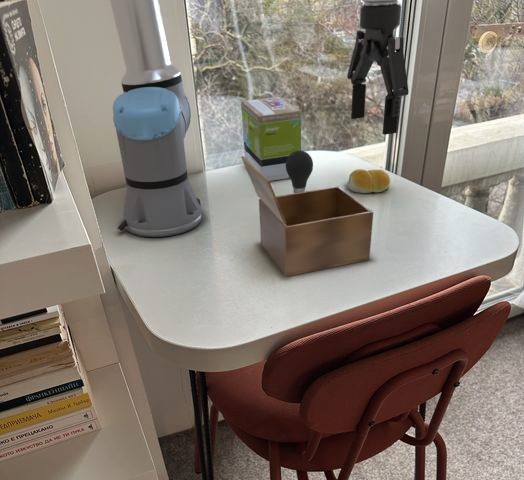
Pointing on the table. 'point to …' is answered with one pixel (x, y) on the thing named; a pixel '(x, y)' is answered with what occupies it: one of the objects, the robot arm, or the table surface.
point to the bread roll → (368, 181)
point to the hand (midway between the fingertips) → (372, 125)
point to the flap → (263, 189)
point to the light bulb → (299, 169)
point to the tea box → (270, 134)
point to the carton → (316, 230)
